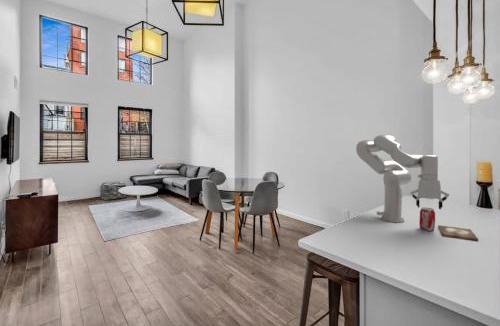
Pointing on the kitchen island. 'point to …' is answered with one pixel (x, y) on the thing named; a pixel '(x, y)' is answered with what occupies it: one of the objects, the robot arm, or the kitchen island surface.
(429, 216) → the soda can
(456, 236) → the coaster board
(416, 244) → the kitchen island surface
